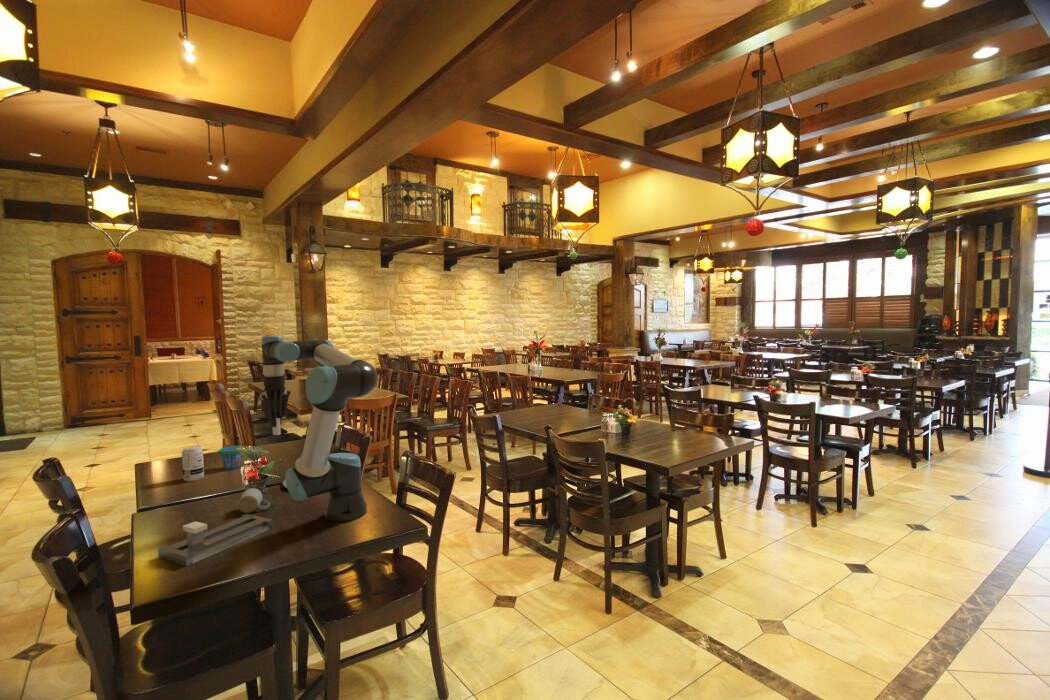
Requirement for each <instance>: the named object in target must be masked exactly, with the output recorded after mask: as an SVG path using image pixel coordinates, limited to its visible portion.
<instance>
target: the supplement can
mask: <svg viewBox="0 0 1050 700" xmlns="http://www.w3.org/2000/svg"><path fill="white" fill-rule="evenodd" d="M181 460H182V461H181V463H182V477H183V479H182V480H183V481H185V482H194V481H199V480H202V479H203V478H204V477H205V466H204V450H203V448H202V447H201V445H194V446H187V447H184V448H183V449H182V451H181Z"/></svg>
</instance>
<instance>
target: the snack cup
mask: <svg viewBox="0 0 1050 700" xmlns="http://www.w3.org/2000/svg"><path fill="white" fill-rule="evenodd" d="M238 447H244V446H243V445H230V446H229V445H228V446H225V447H222V448H220V449H219V450H217V451H216V452H215V453H214V456H213V463H214V464H217V461H216V455H217V454H218V453H219V456H220V459H221V462H222V465H223V467H222V468H223V469H224V470H236V469H238V468H240V467H241V466H242V459H243V457H242V456H243V453H242V454H241V453H240V452H238V451H237V450H235V449H236V448H238Z"/></svg>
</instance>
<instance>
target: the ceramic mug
mask: <svg viewBox="0 0 1050 700" xmlns="http://www.w3.org/2000/svg"><path fill="white" fill-rule="evenodd" d="M262 504H263V505H262ZM270 506H271V503H270V502H269V501H268V500H266V499H264V497H263V493H262V491H261V490H259V489H257V488H255V487H254V488H253V487H252V488H247V489H246V490H244V491H243V492H242V494H241V496H240V498H239V500H238V504H237V507H238V509H239V511H240V512H242V513H245V514H250V513H253V512H255V511H256V510H257V509H259V510H268V509H269V508H270Z"/></svg>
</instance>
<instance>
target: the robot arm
mask: <svg viewBox="0 0 1050 700" xmlns="http://www.w3.org/2000/svg"><path fill="white" fill-rule="evenodd" d="M260 346H261V357H262V358H261V359H262V371H263V372H262V374H263V379H262V382H263V386H264V389H263V392H262V393H261V394H259V395H258V398H259V401H260V402H261V405H262V409H263V413H264V417H265V418H266V419H270V427H272V435H273V436H274V435H275V436H279V435H282V431H281V426H282V423H283V421H282V419H283V418H284V416H286V415H287V410H288V409H287V408H288V403H289V397H290V395H291V390H287V389H286V387H285V384H286V376H285V374H286V373H285V363H287V362H289V363H290V362H295V361H305V360H306V361H307V360H308V361H309V360H315V361H316V362H318V363H319V364H321V365H323V366H317V367H314V368H313V369H312V370H311V371H310V372H309V373H308V375H307V377H306V380H305V386H304V387H305V388H306V389H305V394H306V399H307V400H308V401H309V403H310V404H311V406H312V411H311V415H310V419H309V425H308V428H307V433H306V437H305V440H304V445H303V448H302V449H303V450H302V453H301V456H300V457H298V458H297V459H296V461H295V464H294V467H293V468H292V467H290V468H289V469H287V470H286V471H285V475H284V476H285V477H284V478H285V479H284V480H286V485H287V488H286V489H287V491H288V493H289V495H290V497H291V498H292V500H295V501H298V502H299V501H303V500H308V499H311V498H315V497H319V496H322V495H324V494H328V500H327V504H326V508H325V510H324V518H325V519H326V520H327V521H329V522H330V521H331V522H347V521H352V520H356V519H359V518H361V517H363V516H365V515H366V514H367V513H368V505H367V503H366V501H365V498H364V494H363V490H362V468H361V467H362V463H361V458H360V456H359V455H358V454H356V453H351V452H337V453H335V452H334V453H331V454H330V451H331V448H332V443H333V440H334V437H335V432H336V429H337V425H338V421H339V417H340V412H343V411H344V410H345V409H346V408H347V405H348V402H349V400H351V399H355V398H356V399H357V398H362V397H365V396H367V395H369V394H370V393H372V391H373V390H374V389H375V387H376V386H377V383H378V372H377V369H376V368H375V367H374V365H372V364H371V363H369V362H368V361H365V360H364V359H356V358H354V357H352V356H351V355H348V354H347V353H344V352H342V351H341V350H338V349H337V348H335V347H334V344H333V343H332V341H331V340H329V339H314V340H313V339H312V340H311V339H310V340H288V341H284V339H283V336H281V335H270V336H269V335H267V336H266V335H264V336H262V337H261V345H260Z"/></svg>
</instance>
